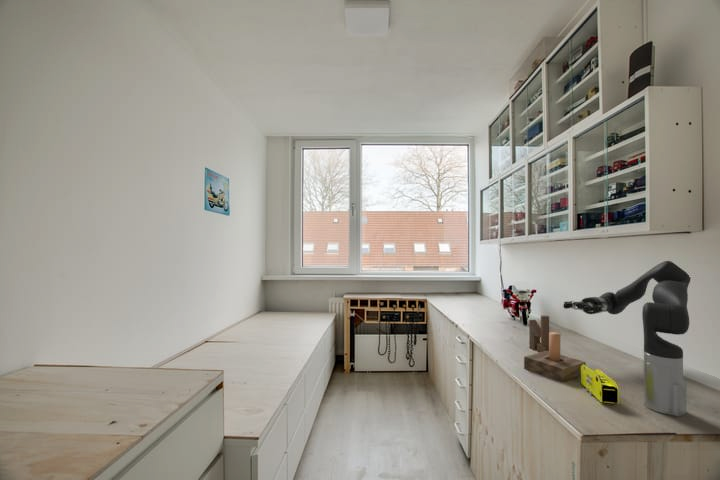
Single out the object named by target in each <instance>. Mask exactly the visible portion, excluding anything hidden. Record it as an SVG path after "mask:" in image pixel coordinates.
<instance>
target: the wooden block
mask: <svg viewBox="0 0 720 480" xmlns="http://www.w3.org/2000/svg"><path fill="white" fill-rule="evenodd" d="M528 329H529V345H528V346H529V348H530V349H532V350H534V351H537V352H538V353H540V352H544V351H549V333H550V316H549V315H548V314H547V315H545V314H541V315H540V325H539V323H538V322H537V320H536V319H529V328H528Z"/></svg>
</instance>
